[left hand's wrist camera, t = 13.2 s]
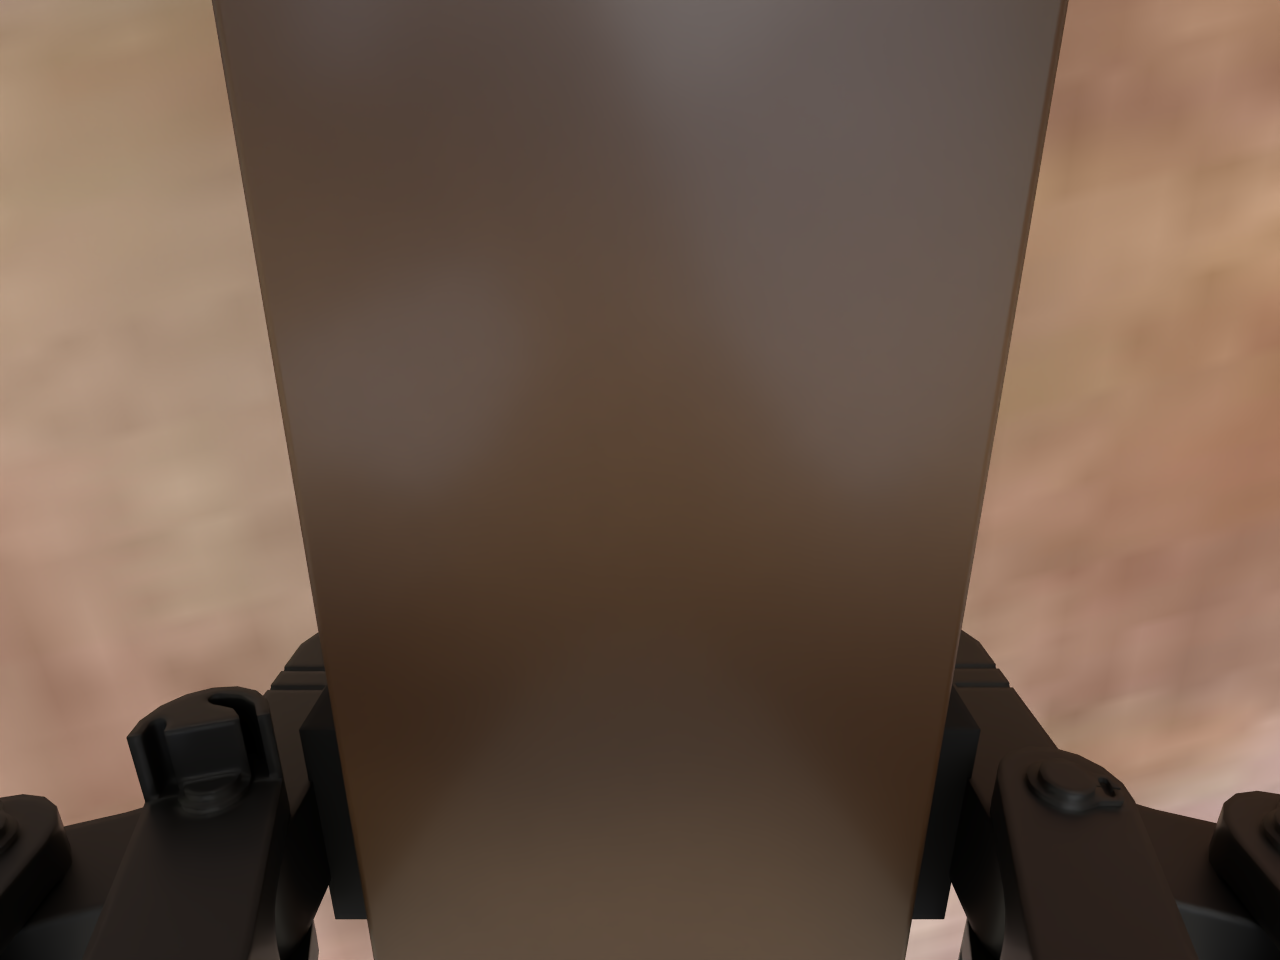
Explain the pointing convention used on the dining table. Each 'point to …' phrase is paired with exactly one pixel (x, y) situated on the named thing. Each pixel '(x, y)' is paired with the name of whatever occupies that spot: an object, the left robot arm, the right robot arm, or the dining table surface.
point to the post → (639, 442)
